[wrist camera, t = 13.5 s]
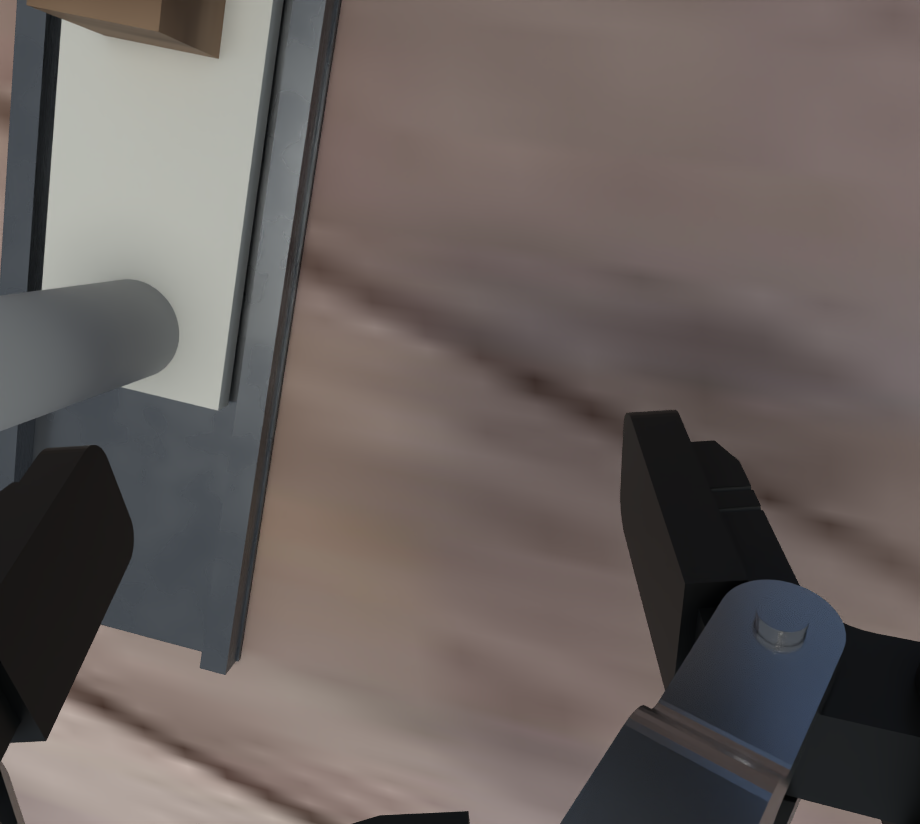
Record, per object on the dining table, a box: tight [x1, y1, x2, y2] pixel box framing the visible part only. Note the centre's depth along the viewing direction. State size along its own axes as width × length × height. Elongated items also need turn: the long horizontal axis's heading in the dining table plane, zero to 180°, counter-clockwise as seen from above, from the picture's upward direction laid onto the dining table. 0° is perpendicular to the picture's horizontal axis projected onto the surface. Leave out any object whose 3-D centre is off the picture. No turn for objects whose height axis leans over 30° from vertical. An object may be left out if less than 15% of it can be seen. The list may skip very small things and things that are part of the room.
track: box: [0, 0, 341, 675], centre depth 33 cm, size 34×12×1 cm, turn 168°
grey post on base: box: [0, 0, 284, 431], centre depth 26 cm, size 22×8×12 cm, turn 168°
